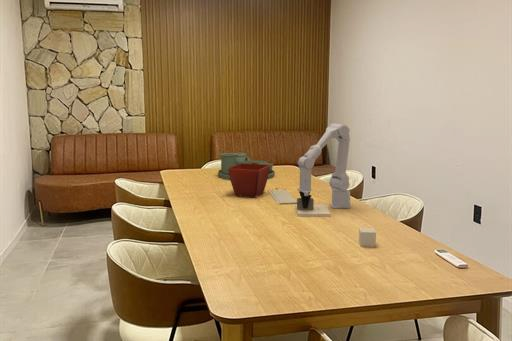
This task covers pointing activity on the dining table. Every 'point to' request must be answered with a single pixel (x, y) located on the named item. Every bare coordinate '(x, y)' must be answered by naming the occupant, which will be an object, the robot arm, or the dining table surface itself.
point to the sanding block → (300, 205)
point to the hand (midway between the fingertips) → (304, 206)
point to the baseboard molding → (282, 197)
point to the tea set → (237, 158)
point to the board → (314, 212)
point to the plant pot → (248, 179)
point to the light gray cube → (367, 237)
